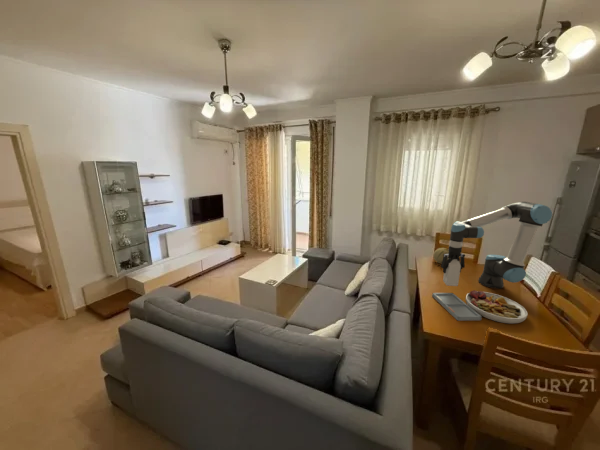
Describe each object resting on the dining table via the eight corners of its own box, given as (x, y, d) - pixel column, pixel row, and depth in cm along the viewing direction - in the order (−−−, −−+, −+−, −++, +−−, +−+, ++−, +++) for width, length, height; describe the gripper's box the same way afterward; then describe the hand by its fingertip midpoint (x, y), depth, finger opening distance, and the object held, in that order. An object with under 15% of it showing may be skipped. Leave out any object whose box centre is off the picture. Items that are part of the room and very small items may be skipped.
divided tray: (451, 295, 168) (452, 292, 167) (481, 320, 142) (481, 316, 141) (432, 296, 167) (432, 292, 167) (457, 320, 141) (458, 316, 141)
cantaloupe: (433, 258, 233) (435, 244, 229) (451, 262, 225) (453, 247, 221) (431, 264, 221) (433, 248, 218) (450, 267, 213) (452, 251, 210)
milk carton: (457, 286, 167) (461, 260, 163) (446, 285, 169) (450, 260, 164) (453, 281, 174) (457, 257, 170) (442, 280, 176) (446, 256, 171)
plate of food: (534, 316, 146) (537, 304, 144) (512, 333, 131) (515, 320, 130) (478, 293, 171) (480, 283, 169) (455, 305, 157) (457, 294, 155)
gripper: (466, 244, 169) (462, 274, 174) (437, 244, 168) (433, 274, 174) (474, 247, 161) (469, 278, 167) (443, 248, 161) (439, 279, 166)
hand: (451, 276), depth 170 cm, fingers closed on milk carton, 8 cm apart
